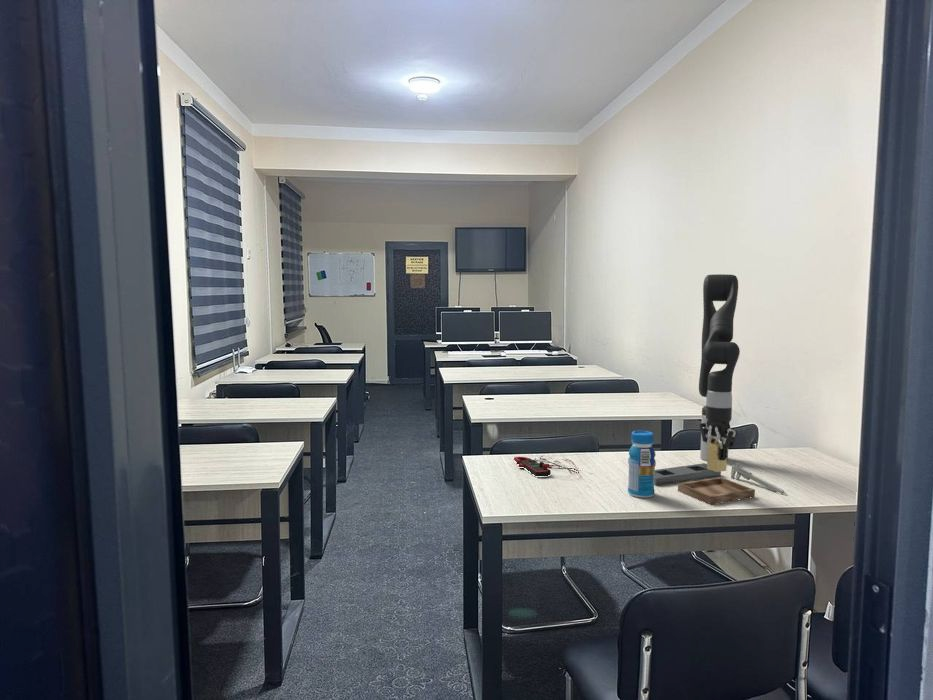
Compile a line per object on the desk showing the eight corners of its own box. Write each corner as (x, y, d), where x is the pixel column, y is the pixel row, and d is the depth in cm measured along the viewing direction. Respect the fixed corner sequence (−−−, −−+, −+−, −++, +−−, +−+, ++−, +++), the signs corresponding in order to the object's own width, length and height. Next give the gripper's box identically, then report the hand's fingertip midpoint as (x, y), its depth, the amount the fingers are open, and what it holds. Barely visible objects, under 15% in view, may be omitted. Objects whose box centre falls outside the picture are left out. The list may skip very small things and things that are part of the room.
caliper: (730, 479, 208) (731, 461, 208) (732, 478, 209) (733, 460, 208) (785, 496, 190) (786, 477, 190) (787, 496, 191) (788, 476, 190)
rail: (703, 469, 218) (704, 463, 218) (720, 476, 210) (720, 469, 210) (640, 478, 208) (640, 471, 207) (655, 485, 200) (656, 478, 200)
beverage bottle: (622, 494, 191) (624, 433, 189) (634, 488, 198) (635, 428, 196) (648, 500, 186) (649, 437, 184) (659, 493, 192) (660, 432, 190)
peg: (716, 467, 193) (717, 441, 193) (726, 470, 190) (727, 444, 189) (706, 468, 192) (707, 442, 191) (716, 472, 188) (717, 445, 187)
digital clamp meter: (536, 470, 205) (509, 451, 228) (536, 483, 205) (509, 463, 229) (597, 463, 212) (564, 446, 236) (597, 476, 212) (564, 457, 236)
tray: (720, 484, 201) (720, 477, 201) (754, 497, 188) (754, 489, 188) (677, 490, 195) (678, 483, 195) (710, 505, 182) (710, 496, 182)
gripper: (746, 408, 184) (743, 462, 185) (711, 400, 197) (709, 451, 198) (727, 409, 181) (725, 465, 183) (693, 402, 194) (691, 454, 196)
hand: (716, 458), depth 190 cm, fingers closed on peg, 4 cm apart
